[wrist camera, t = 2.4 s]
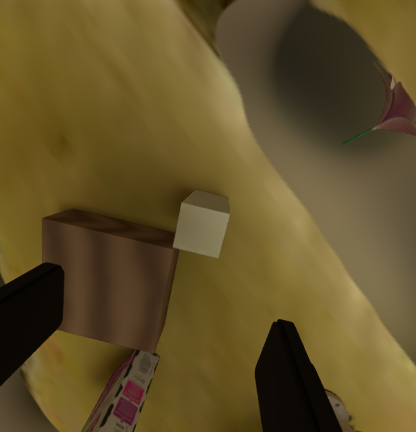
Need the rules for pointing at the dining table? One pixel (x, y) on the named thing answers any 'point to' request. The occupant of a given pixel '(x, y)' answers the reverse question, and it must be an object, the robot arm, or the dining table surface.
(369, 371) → the dining table surface
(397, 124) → the lily
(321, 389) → the robot arm
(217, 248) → the sage block
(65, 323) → the walnut block
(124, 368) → the candy bar box
